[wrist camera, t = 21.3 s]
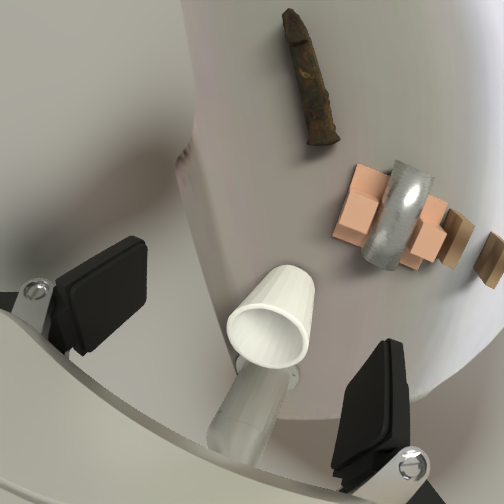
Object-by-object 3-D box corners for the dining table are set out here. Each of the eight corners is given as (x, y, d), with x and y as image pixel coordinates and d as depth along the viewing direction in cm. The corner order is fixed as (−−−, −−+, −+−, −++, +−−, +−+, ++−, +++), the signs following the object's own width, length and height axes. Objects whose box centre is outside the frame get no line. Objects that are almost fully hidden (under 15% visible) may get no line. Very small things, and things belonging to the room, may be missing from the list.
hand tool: (341, 143, 32) (340, 144, 28) (310, 146, 33) (304, 147, 29) (314, 12, 25) (308, -2, 21) (284, 17, 26) (275, 3, 22)
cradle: (416, 267, 34) (422, 282, 30) (332, 233, 36) (330, 246, 32) (445, 202, 29) (456, 211, 25) (357, 162, 32) (358, 166, 28)
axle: (392, 257, 34) (399, 275, 29) (359, 244, 34) (362, 261, 30) (426, 173, 28) (440, 181, 24) (391, 157, 29) (401, 162, 24)
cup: (255, 254, 42) (218, 300, 31) (322, 255, 38) (307, 307, 27) (263, 309, 45) (233, 363, 34) (323, 314, 42) (308, 373, 31)
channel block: (482, 272, 30) (494, 289, 26) (432, 247, 32) (442, 263, 28) (499, 236, 27) (514, 250, 23) (450, 208, 29) (463, 219, 25)
